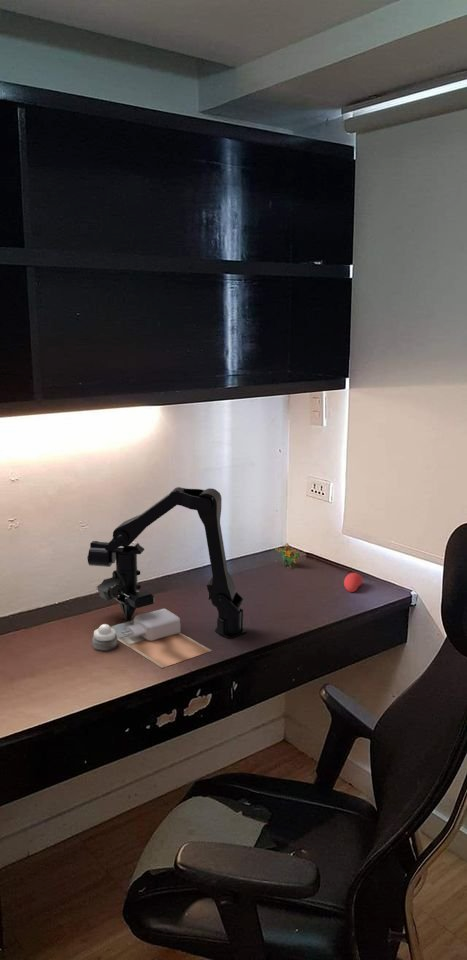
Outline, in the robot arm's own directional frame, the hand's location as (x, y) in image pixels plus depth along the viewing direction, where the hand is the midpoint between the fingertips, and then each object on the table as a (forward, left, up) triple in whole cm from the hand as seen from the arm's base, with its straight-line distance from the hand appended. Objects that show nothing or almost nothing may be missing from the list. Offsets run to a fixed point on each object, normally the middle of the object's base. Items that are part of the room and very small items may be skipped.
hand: (128, 620), depth 210 cm
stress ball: (-71, +20, -1) cm, 74 cm away
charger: (0, +10, -1) cm, 10 cm away
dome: (+12, +8, +1) cm, 15 cm away
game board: (+4, +14, -1) cm, 14 cm away
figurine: (-69, -8, -1) cm, 69 cm away
